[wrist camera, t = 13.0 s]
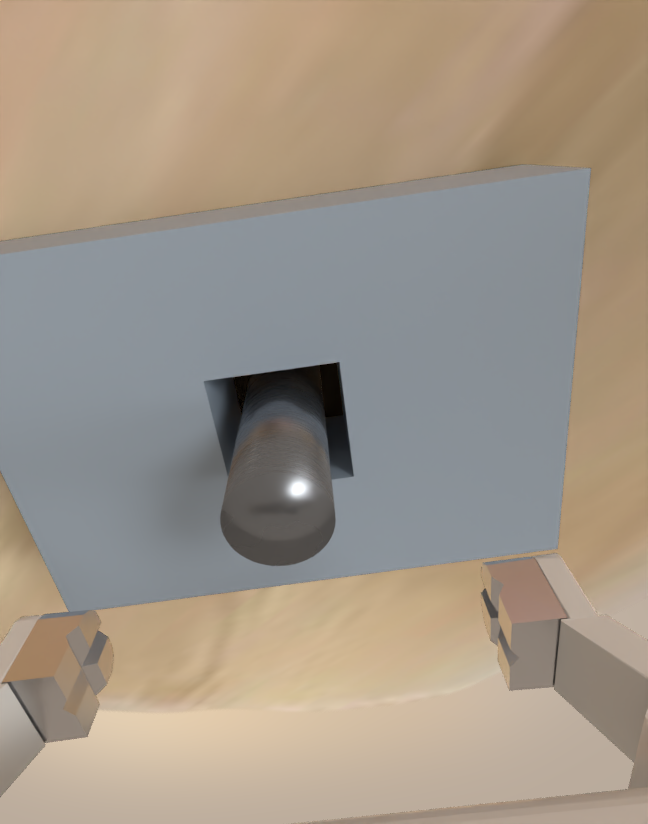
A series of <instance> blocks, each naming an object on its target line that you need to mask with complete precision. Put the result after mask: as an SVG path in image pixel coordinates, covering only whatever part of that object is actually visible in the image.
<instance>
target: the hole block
mask: <svg viewBox="0 0 648 824" xmlns="http://www.w3.org/2000/svg"><path fill="white" fill-rule="evenodd" d="M590 174H591V168H581V167H562V166H543V165H525V164H522V165H516V166H509V167H502V168H495V169H488V170H482V171H475V172H468V173H461V174H454V175H447V176H441V177H434V178H427V179H420V180H413V181H407V182H400V183H393V184H386V185H379V186H373V187H366V188H359V189H352V190H345V191H339V192H332V193H325V194H318V195H311V196H305V197H298V198H291V199H284V200H277V201H270V202H264V203H257V204H250V205H243V206H236V207H230V208H223V209H216V210H209V211H202V212H196V213H189V214H182V215H175V216H168V217H162V218H155V219H148V220H141V221H134V222H128V223H121V224H114V225H107V226H100V227H93V228H87V229H80V230H73V231H66V232H59V233H53V234H46V235H39V236H32V237H25V238H19V239H12V240H5V241H0V472H1V474H2V476H3V478H4V480H5V482H6V484H7V486H8V488H9V490H10V492H11V494H12V496H13V498H14V500H15V502H16V504H17V506H18V509H19V511H20V513H21V515H22V517H23V519H24V521H25V523H26V525H27V527H28V529H29V531H30V533H31V535H32V537H33V539H34V541H35V543H36V545H37V547H38V550H39V552H40V554H41V556H42V558H43V560H44V562H45V564H46V566H47V568H48V570H49V572H50V574H51V576H52V578H53V580H54V582H55V584H56V586H57V589H58V591H59V593H60V595H61V597H62V599H63V601H64V603H65V605H66V607H67V609H68V611H69V612H74V611H84V610H99V609H107V608H114V607H122V606H129V605H137V604H144V603H152V602H160V601H167V600H175V599H182V598H190V597H197V596H205V595H212V594H220V593H227V592H235V591H243V590H250V589H258V588H265V587H273V586H280V585H288V584H295V583H303V582H310V581H318V580H325V579H333V578H341V577H348V576H356V575H363V574H371V573H378V572H386V571H393V570H401V569H408V568H416V567H424V566H431V565H439V564H446V563H454V562H461V561H469V560H476V559H484V558H491V557H499V556H506V555H514V554H522V553H529V552H537V551H544V550H552V549H558V539H559V528H560V516H561V505H562V493H563V482H564V471H565V459H566V448H567V436H568V425H569V414H570V402H571V391H572V379H573V368H574V356H575V345H576V334H577V322H578V311H579V299H580V288H581V277H582V265H583V254H584V242H585V231H586V219H587V208H588V197H589V185H590ZM336 362H337V370H338V377H339V385H340V393H341V400H342V408H343V415H340V416H333V417H326V418H325V421H326V430H327V440H328V450H329V459H330V469H331V478H332V488H333V497H334V507H335V517H336V523H335V529H334V532H333V535H332V537H331V539H330V541H329V542H328V544H327V545H326V546H325V547H324V548H323V549H322V550H321V551H320V552H319V553H317V554H316V555H315V556H313V557H311V558H310V559H308V560H305V561H303V562H300V563H297V564H293V565H287V566H270V565H264V564H259V563H256V562H253V561H251V560H249V559H246V558H245V557H243V556H241V555H240V554H239V553H237V552H236V551H235V550H234V549H233V548H232V547H231V546H230V545H229V543H228V542H227V541H226V539H225V537H224V535H223V532H222V530H221V524H220V515H221V509H222V505H223V500H224V495H225V490H226V486H227V481H228V476H229V472H230V467H231V462H232V458H233V453H234V448H235V443H236V439H237V434H238V429H239V425H240V420H241V411H240V406H239V402H238V398H237V393H236V389H235V384H234V380H233V377H237V376H244V375H251V374H258V373H265V372H272V371H279V370H286V369H294V368H301V367H308V366H315V365H322V364H329V363H336Z"/></svg>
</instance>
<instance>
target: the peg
mask: <svg viewBox="0 0 648 824" xmlns="http://www.w3.org/2000/svg"><path fill="white" fill-rule="evenodd" d="M335 523H336V517H335V507H334V497H333V488H332V478H331V469H330V459H329V450H328V440H327V430H326V421H325V411H324V402H323V392H322V383H321V373H320V367H319V365H315V366H308V367H301V368H294V369H286V370H279V371H272V372H265V373H258V374H251V375H250V377H249V382H248V387H247V392H246V396H245V401H244V406H243V410H242V415H241V420H240V425H239V429H238V434H237V439H236V443H235V448H234V453H233V458H232V462H231V467H230V472H229V476H228V481H227V486H226V490H225V495H224V500H223V505H222V509H221V515H220V524H221V530H222V532H223V535H224V537H225V539H226V541H227V542H228V543H229V545H230V546H231V547H232V548H233V549H234V550H235V551H236V552H237V553H239V554H240V555H241V556H243V557H245V558H246V559H249V560H251V561H253V562H256V563H259V564H264V565H270V566H287V565H293V564H297V563H300V562H303V561H305V560H308V559H310V558H311V557H313V556H315V555H316V554H317V553H319V552H320V551H321V550H322V549H323V548H324V547H325V546H326V545H327V544H328V542H329V541H330V539H331V537H332V535H333V532H334V529H335Z"/></svg>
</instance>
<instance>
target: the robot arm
mask: <svg viewBox="0 0 648 824" xmlns="http://www.w3.org/2000/svg"><path fill="white" fill-rule="evenodd" d="M481 578H482V580H483V583H484V586H485V589H484V590H483V592H482V593H481V603H482V612H483V618H484V622H485V626H486V629H487V632H488V635H489V638H490V641H492V642H493V643H494V644H496V645H497V646H498V662H499V665H500V667H501V670H502V673H503V675H504V678H505V681H506V683H507V686H508V688H509V690H522V689H535V688H547V687H554V690H555V691H557V692H558V693H559V694H560V695H561V696H562V697H563V698H564V699H565V700H566V701H567V702H569V703H570V704H571V705H572V706H573V707H574V708H575V709H576V710H577V711H578V712H579V713H581V714H582V715H583V716H584V717H585V718H586V719H587V720H588V721H589V722H590V723H591V724H593V725H594V726H595V727H596V728H597V729H598V730H599V731H600V732H601V733H602V734H604V736H606V737H607V738H608V739H609V740H610V741H611V742H612V743H613V744H615V746H617V747H618V748H619V749H620V750H621V751H622V752H623V753H624V754H625V755H626V756H627V757H628V758H629V759H631V760H632V761H633V762H634V766H633V770H632V774H631V779H630V783H629V787H628V789H625V790H615V791H605V792H595V793H585V794H576V795H566V796H556V797H546V798H537V799H528V800H517V801H507V802H497V803H488V804H479V805H470V806H458V807H449V808H439V809H430V810H419V811H410V812H400V813H390V814H380V815H371V816H362V817H351V818H341V819H332V820H322V821H312V822H304V823H293V824H648V640H647V639H645V638H644V637H642V636H640V635H639V634H637V633H635V632H634V631H632V630H631V629H629V628H627V627H626V626H624V625H622V624H621V623H619V622H617V621H616V620H614V619H612V618H611V617H609V616H608V615H598V614H597V613H596V611H595V609H594V608H593V606H592V605H591V603H590V601H589V600H588V598H587V597H586V595H585V594H584V592H583V590H582V589H581V587H580V586H579V584H578V582H577V581H576V579H575V578H574V576H573V574H572V573H571V571H570V570H569V568H568V567H567V565H566V563H565V562H564V560H563V559H562V557H561V556H560V555H558V554H557V553H553V554H546V555H538V556H532V557H523V558H516V559H508V560H500V561H492V562H485V563H483V564H482V567H481ZM100 624H101V620H100V619H99V617H98V615H97V613H96V611H92V610H84V611H74V612H63V613H52V614H44V615H36V616H25V617H21V618H20V619H18V620H17V621H15V622H14V624H13V625H12V627H11V628H10V630H9V632H8V633H7V635H6V636H5V638H4V640H3V641H2V643H1V644H0V797H1V796H2V795H3V793H4V792H5V791H6V790H7V789H8V788H9V787H10V786H11V784H12V783H13V782H14V781H15V780H16V779H17V778H18V776H19V775H20V774H21V773H22V772H23V771H24V769H25V768H26V767H27V766H28V765H29V764H30V763H31V761H32V760H33V759H34V758H35V757H36V756H37V755H38V753H39V752H40V751H41V750H42V749H43V748H44V747H45V743H48V742H54V741H62V740H69V739H76V738H83V737H87V736H88V734H89V731H90V729H91V726H92V723H93V721H94V718H95V715H96V713H97V710H98V708H99V705H100V704H99V702H98V699H97V696H96V695H97V694H98V693H99V692H100V691H101V690H102V689H103V688H104V687H105V686H106V685H107V684H108V681H109V678H110V675H111V672H112V666H113V657H114V656H113V650H112V645H111V642H110V640H109V638H108V637H107V636H106V635H104V634H103V633H101V632H100V631H98V629H99V626H100Z"/></svg>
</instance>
